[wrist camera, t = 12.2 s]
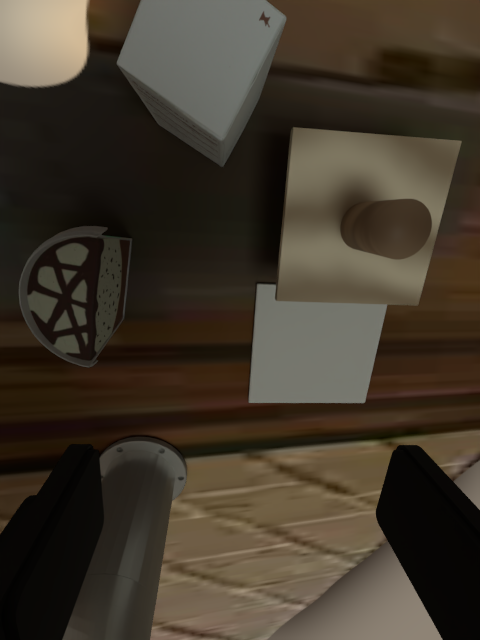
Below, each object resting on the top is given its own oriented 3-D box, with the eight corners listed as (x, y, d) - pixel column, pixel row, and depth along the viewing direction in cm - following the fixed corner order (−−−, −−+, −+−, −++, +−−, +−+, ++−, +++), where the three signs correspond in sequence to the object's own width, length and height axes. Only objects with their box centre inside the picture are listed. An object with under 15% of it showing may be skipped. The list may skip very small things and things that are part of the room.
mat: (362, 400, 41) (364, 402, 41) (248, 400, 40) (248, 402, 39) (388, 287, 36) (390, 288, 35) (256, 283, 34) (257, 284, 34)
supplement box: (192, 44, 27) (172, -92, 15) (261, 98, 28) (292, 15, 16) (155, 125, 28) (111, 61, 17) (221, 170, 30) (224, 143, 18)
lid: (412, 303, 30) (466, 327, 23) (274, 298, 28) (291, 323, 22) (454, 143, 25) (536, 119, 18) (290, 130, 24) (317, 99, 17)
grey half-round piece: (72, 210, 30) (8, 209, 21) (133, 224, 31) (98, 228, 22) (68, 320, 34) (12, 361, 25) (123, 330, 35) (88, 372, 26)
